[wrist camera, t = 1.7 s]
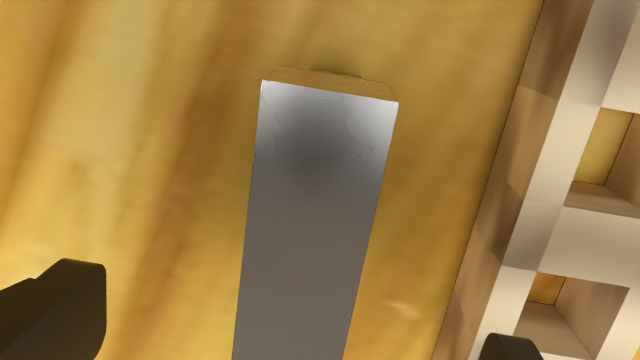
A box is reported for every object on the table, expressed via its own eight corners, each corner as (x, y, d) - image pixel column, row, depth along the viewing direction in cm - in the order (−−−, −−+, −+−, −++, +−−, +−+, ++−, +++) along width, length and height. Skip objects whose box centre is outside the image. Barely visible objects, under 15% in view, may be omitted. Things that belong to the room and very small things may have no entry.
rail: (566, -71, 15) (628, -96, 12) (738, -41, 15) (848, -59, 12) (426, 376, 22) (439, 439, 19) (543, 396, 22) (578, 463, 19)
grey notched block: (299, 53, 17) (261, 79, 9) (376, 66, 17) (399, 102, 9) (272, 254, 20) (227, 394, 13) (336, 264, 20) (330, 411, 13)
